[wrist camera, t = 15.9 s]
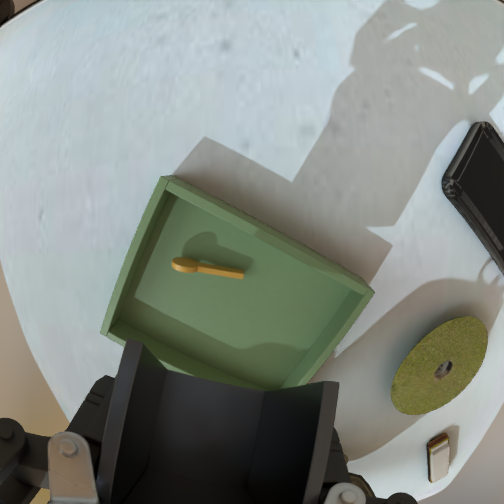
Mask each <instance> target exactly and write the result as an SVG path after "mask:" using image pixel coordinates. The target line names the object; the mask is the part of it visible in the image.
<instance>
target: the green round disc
mask: <svg viewBox="0 0 504 504" xmlns="http://www.w3.org/2000/svg"><path fill="white" fill-rule="evenodd" d="M487 338H488V336H487V330H486V328H485V325H484V324H483V323H482V322H481V321H480V320H479V319H477V318H475V317H471V316H470V317H469V316H468V317H467V316H466V317H458V318H455V319H453V320H450V321H446V322H445V323H443V324H442V325H440V326H438V327H436V328H435V329H434V330H433V331H432V332H430V333H429V334H428V335H426V336H425V337H424V338H423V339H422V340H421V341H420V342H419V343H418V344H417V345H416V346H415V347H414V348H413V349H412V350H411V351H410V353H409V354H408V355H407V357H406V358H405V359H404V360H403V362H402V364H401V365H400V367H399V369H398V370H397V372H396V375H395V377H394V380H393V382H392V387H391V399H392V402H393V404H394V406H395V407H396V409H397V410H399V411H400V412H402V413H405V414H408V415H420V414H425V413H428V412H430V411H433V410H436V409H438V408H440V407H442V406H444V405H445V404H447V403H448V402H450V401H451V400H452V399H454V398H455V397H456V396H457V395H458V394H460V393H461V392H462V391H463V390H464V389H465V387H466V386H467V385H468V384H469V383H470V382H471V380H472V379H473V377H474V376H475V375H476V373H477V372H478V370H479V368H480V367H481V365H482V362H483V359H484V358H485V353H486V349H487V343H488V339H487Z"/></svg>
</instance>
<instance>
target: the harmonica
mask: <svg viewBox="0 0 504 504" xmlns="http://www.w3.org/2000/svg"><path fill="white" fill-rule="evenodd" d="M448 444H449V437H448V435H447V434H446V433H444V434H443V435H441V436H439V437H438V438H436V439H434V440H433V441H431V442H429V443H427V445H426V447H427V461H428V480H429V482H431V483H434V482H436V481H438V480H440V479H442V478H443V477H445V476H446V475H447V474H448V468H449V457H450V447H449V445H448Z"/></svg>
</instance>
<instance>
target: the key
mask: <svg viewBox="0 0 504 504" xmlns="http://www.w3.org/2000/svg"><path fill="white" fill-rule="evenodd" d="M171 266H172V268H174V269H175V270H177V271H180V272H184V273H195V272H201V273H207V274H213V275H219V276H225V277H231V278H237V279H243V277H244V272H243V270H240V269H234V268H229V267H223V266H217V265H211V264H206V263H200V262H197V261H196V260H193V259H191V258H186V257H176V258H173V259H172V264H171Z"/></svg>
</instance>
